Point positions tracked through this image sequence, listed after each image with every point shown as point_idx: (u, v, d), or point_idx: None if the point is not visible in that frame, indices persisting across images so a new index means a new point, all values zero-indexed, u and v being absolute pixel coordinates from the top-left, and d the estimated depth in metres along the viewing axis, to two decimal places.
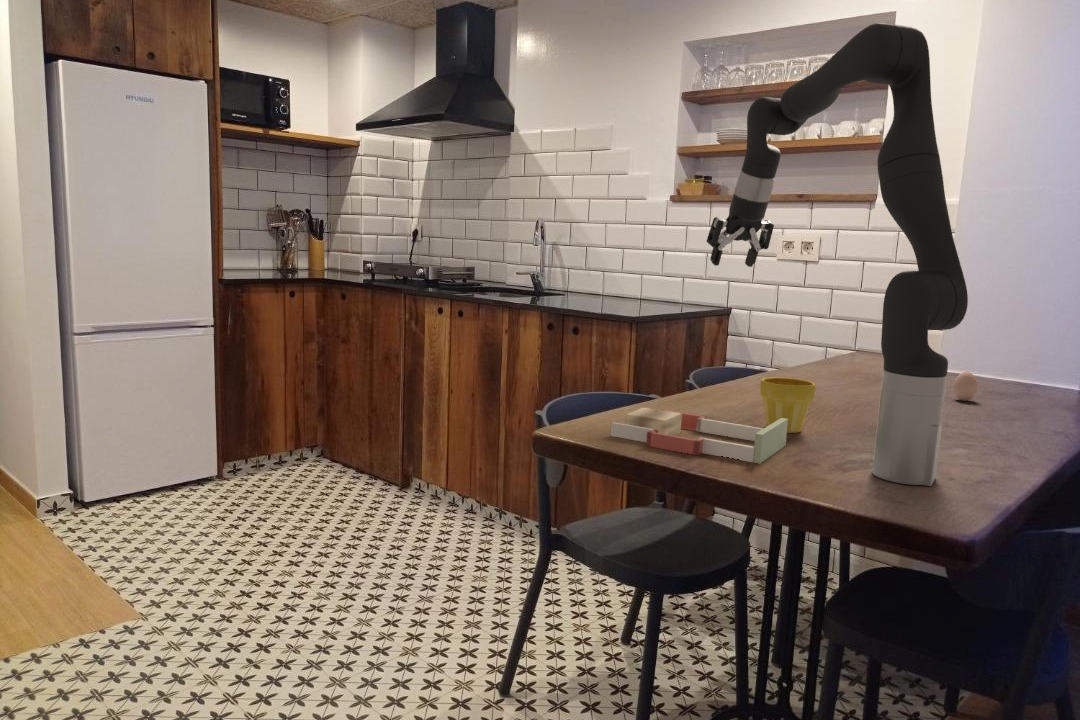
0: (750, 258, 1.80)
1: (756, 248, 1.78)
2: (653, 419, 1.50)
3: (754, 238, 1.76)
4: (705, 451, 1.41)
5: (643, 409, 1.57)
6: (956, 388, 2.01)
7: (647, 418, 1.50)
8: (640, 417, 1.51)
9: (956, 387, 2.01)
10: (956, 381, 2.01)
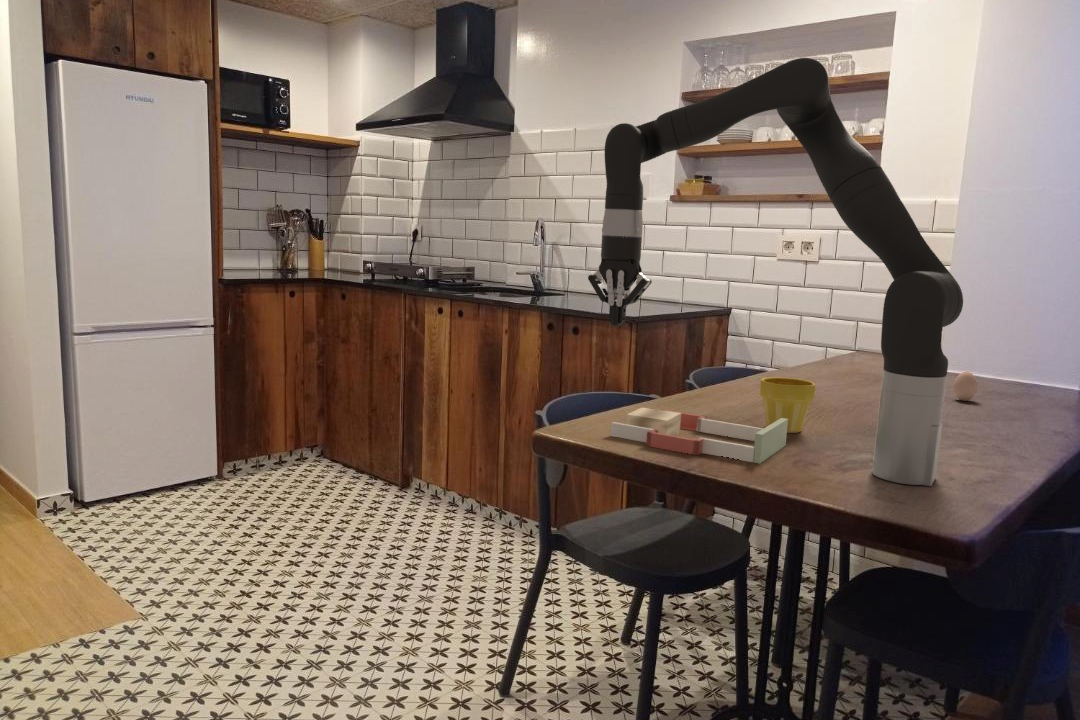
0: None
1: None
2: (654, 419, 1.50)
3: None
4: (705, 451, 1.41)
5: (642, 409, 1.57)
6: (956, 388, 2.01)
7: (648, 418, 1.50)
8: (641, 417, 1.51)
9: (956, 387, 2.01)
10: (956, 381, 2.01)
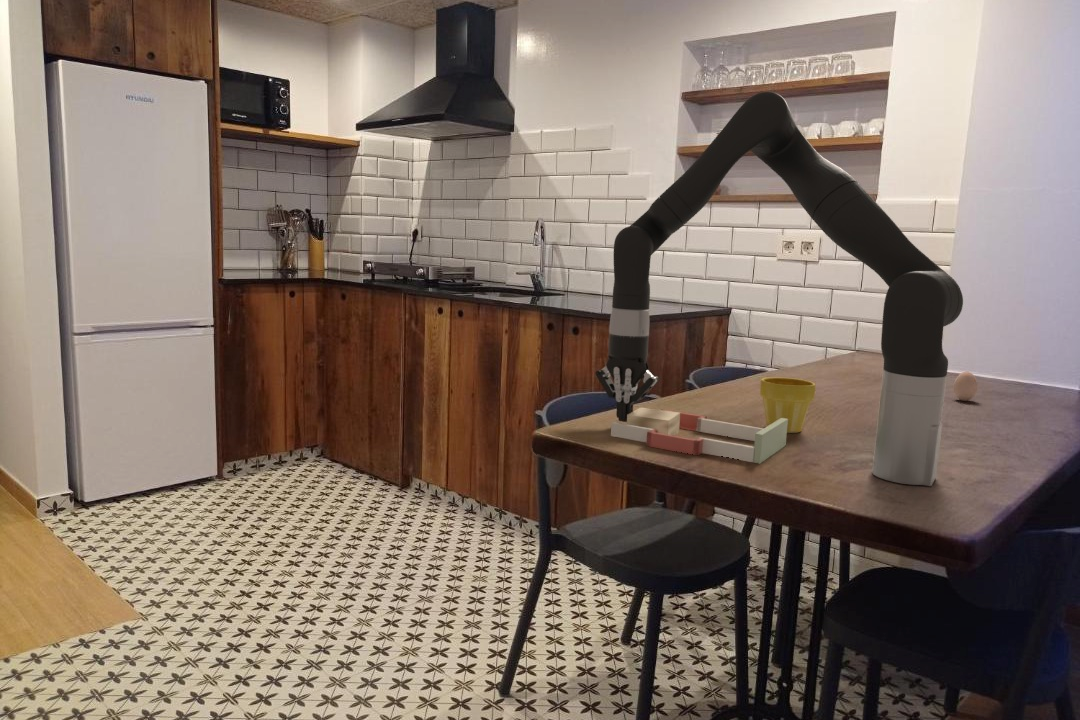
0: None
1: None
2: (656, 419, 1.50)
3: None
4: (705, 451, 1.41)
5: (641, 409, 1.57)
6: (956, 388, 2.01)
7: (650, 418, 1.50)
8: (642, 418, 1.51)
9: (956, 387, 2.01)
10: (956, 381, 2.01)
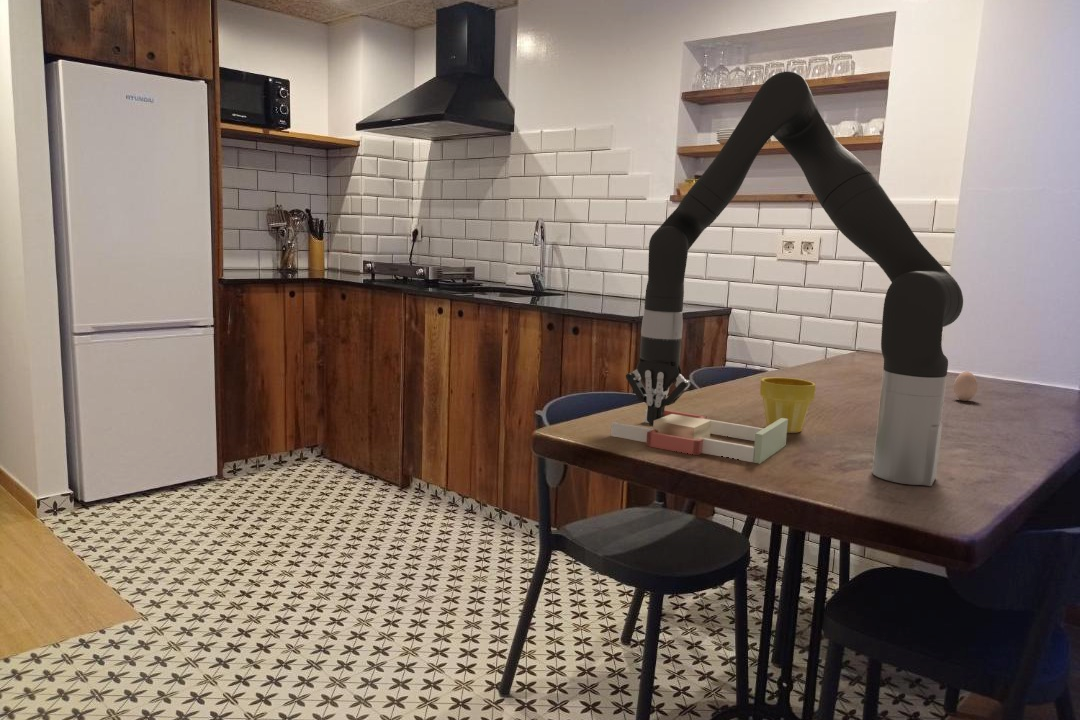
0: None
1: None
2: (682, 426, 1.46)
3: None
4: (705, 451, 1.41)
5: (671, 415, 1.53)
6: (956, 388, 2.01)
7: (675, 425, 1.46)
8: (668, 424, 1.47)
9: (956, 387, 2.01)
10: (956, 381, 2.01)
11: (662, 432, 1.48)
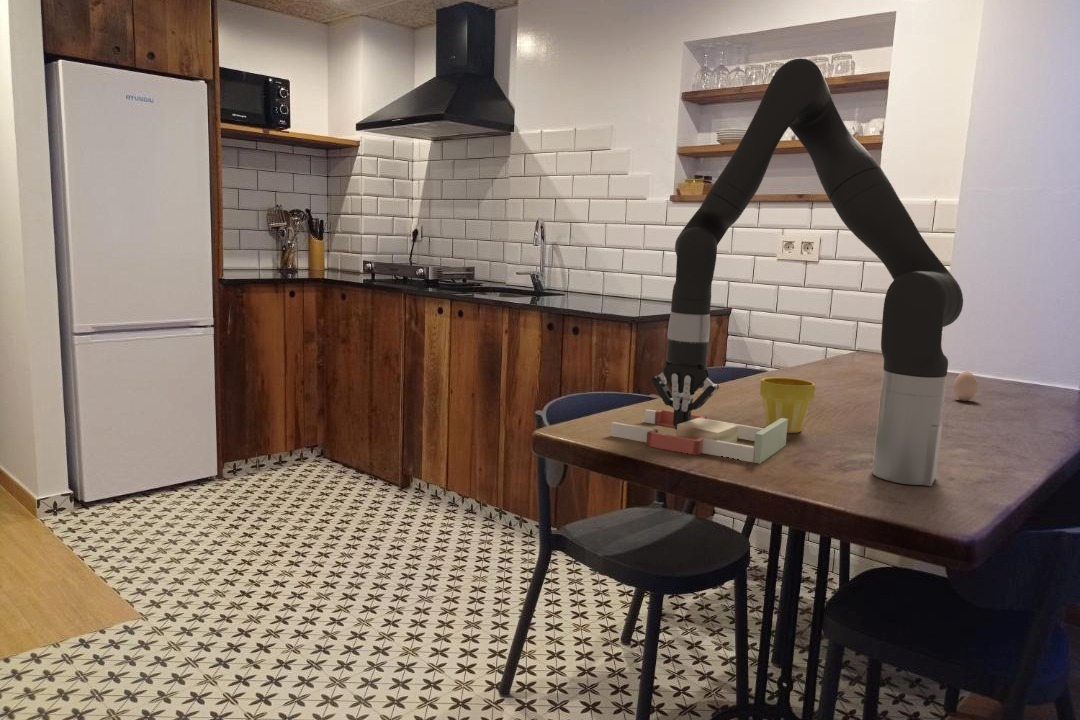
0: None
1: None
2: (705, 431, 1.42)
3: None
4: (705, 451, 1.41)
5: (697, 420, 1.50)
6: (956, 388, 2.01)
7: (699, 429, 1.43)
8: (692, 428, 1.44)
9: (956, 387, 2.01)
10: (956, 381, 2.01)
11: (685, 436, 1.45)
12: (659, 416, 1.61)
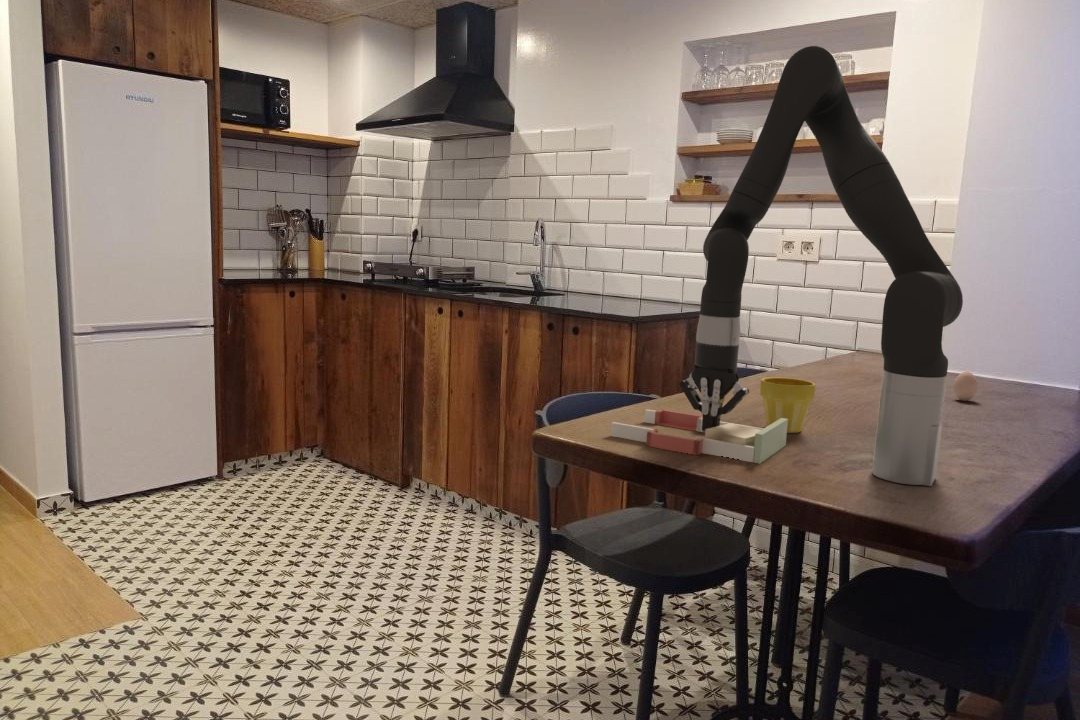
0: None
1: None
2: (733, 436, 1.39)
3: None
4: (705, 451, 1.41)
5: (728, 425, 1.47)
6: (956, 388, 2.01)
7: (727, 435, 1.40)
8: (719, 433, 1.41)
9: (956, 387, 2.01)
10: (956, 381, 2.01)
11: None
12: (659, 416, 1.61)
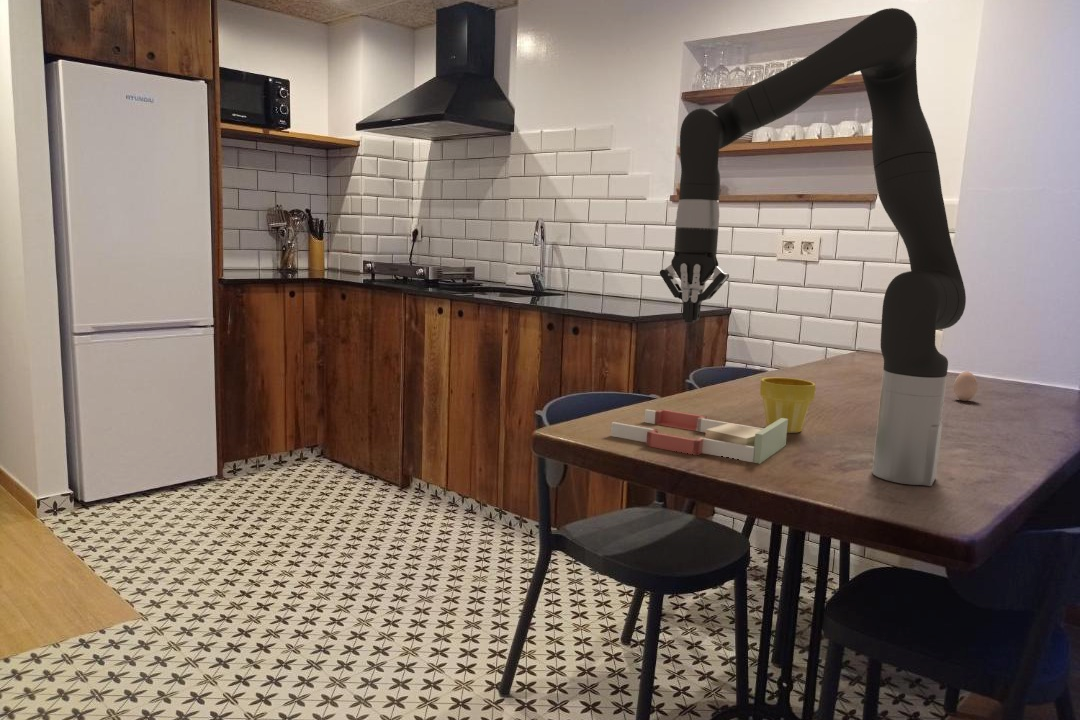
0: None
1: None
2: (734, 436, 1.39)
3: None
4: (705, 451, 1.41)
5: (728, 425, 1.47)
6: (956, 388, 2.01)
7: (728, 435, 1.40)
8: (720, 433, 1.41)
9: (956, 387, 2.01)
10: (956, 381, 2.01)
11: None
12: (659, 416, 1.61)
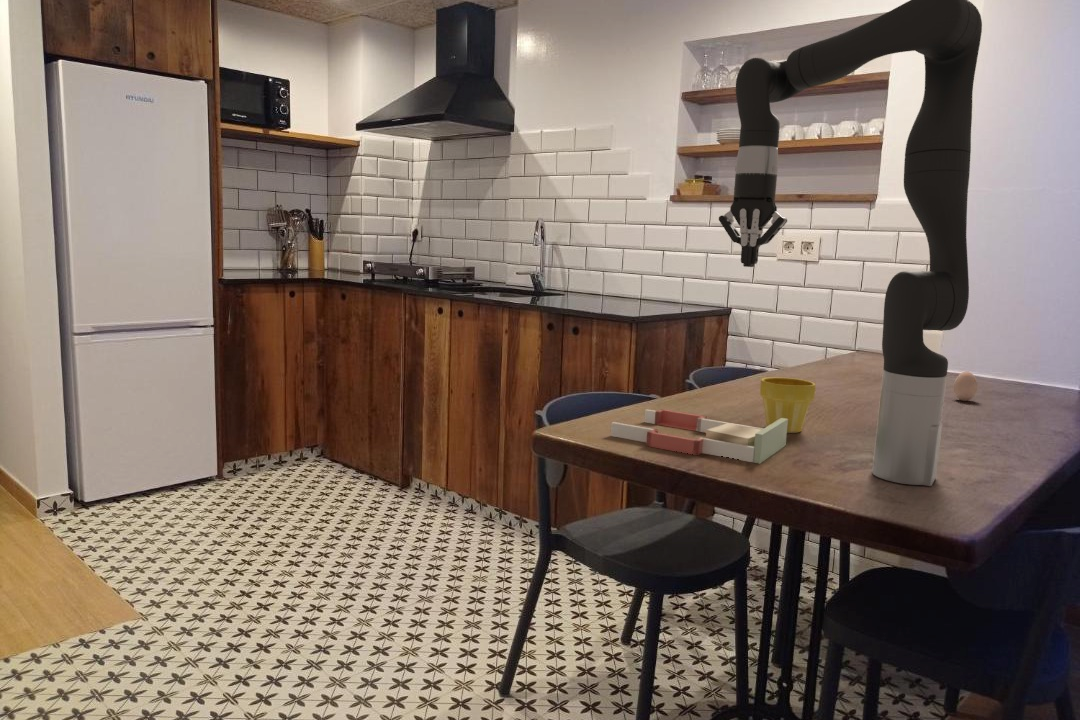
0: None
1: None
2: (735, 436, 1.39)
3: None
4: (705, 451, 1.41)
5: (727, 425, 1.47)
6: (956, 388, 2.01)
7: (729, 435, 1.40)
8: (721, 434, 1.41)
9: (956, 387, 2.01)
10: (956, 381, 2.01)
11: None
12: (659, 416, 1.61)
